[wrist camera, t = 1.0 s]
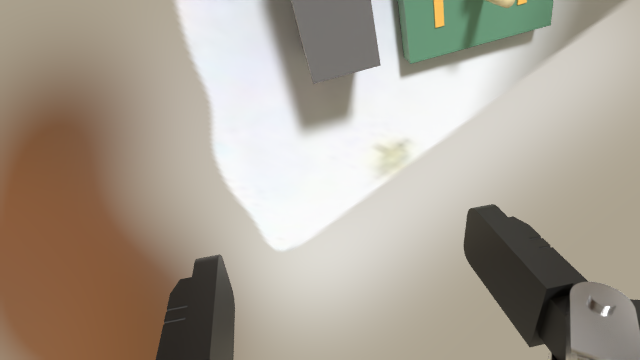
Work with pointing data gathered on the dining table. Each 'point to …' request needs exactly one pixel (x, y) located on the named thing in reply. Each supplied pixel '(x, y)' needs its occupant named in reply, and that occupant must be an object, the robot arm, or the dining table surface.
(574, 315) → the robot arm
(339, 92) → the dining table surface
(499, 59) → the dining table surface
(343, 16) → the block
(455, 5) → the header board
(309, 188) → the dining table surface
